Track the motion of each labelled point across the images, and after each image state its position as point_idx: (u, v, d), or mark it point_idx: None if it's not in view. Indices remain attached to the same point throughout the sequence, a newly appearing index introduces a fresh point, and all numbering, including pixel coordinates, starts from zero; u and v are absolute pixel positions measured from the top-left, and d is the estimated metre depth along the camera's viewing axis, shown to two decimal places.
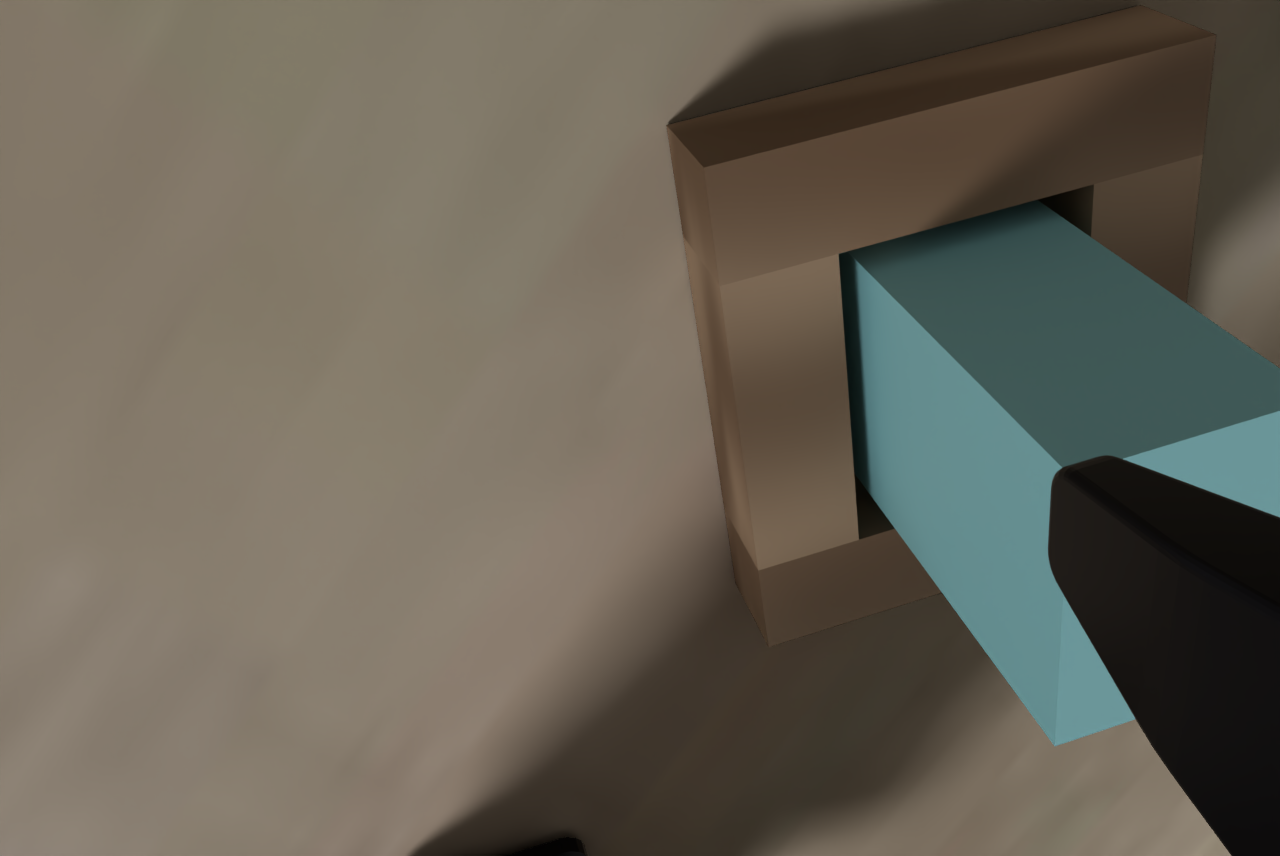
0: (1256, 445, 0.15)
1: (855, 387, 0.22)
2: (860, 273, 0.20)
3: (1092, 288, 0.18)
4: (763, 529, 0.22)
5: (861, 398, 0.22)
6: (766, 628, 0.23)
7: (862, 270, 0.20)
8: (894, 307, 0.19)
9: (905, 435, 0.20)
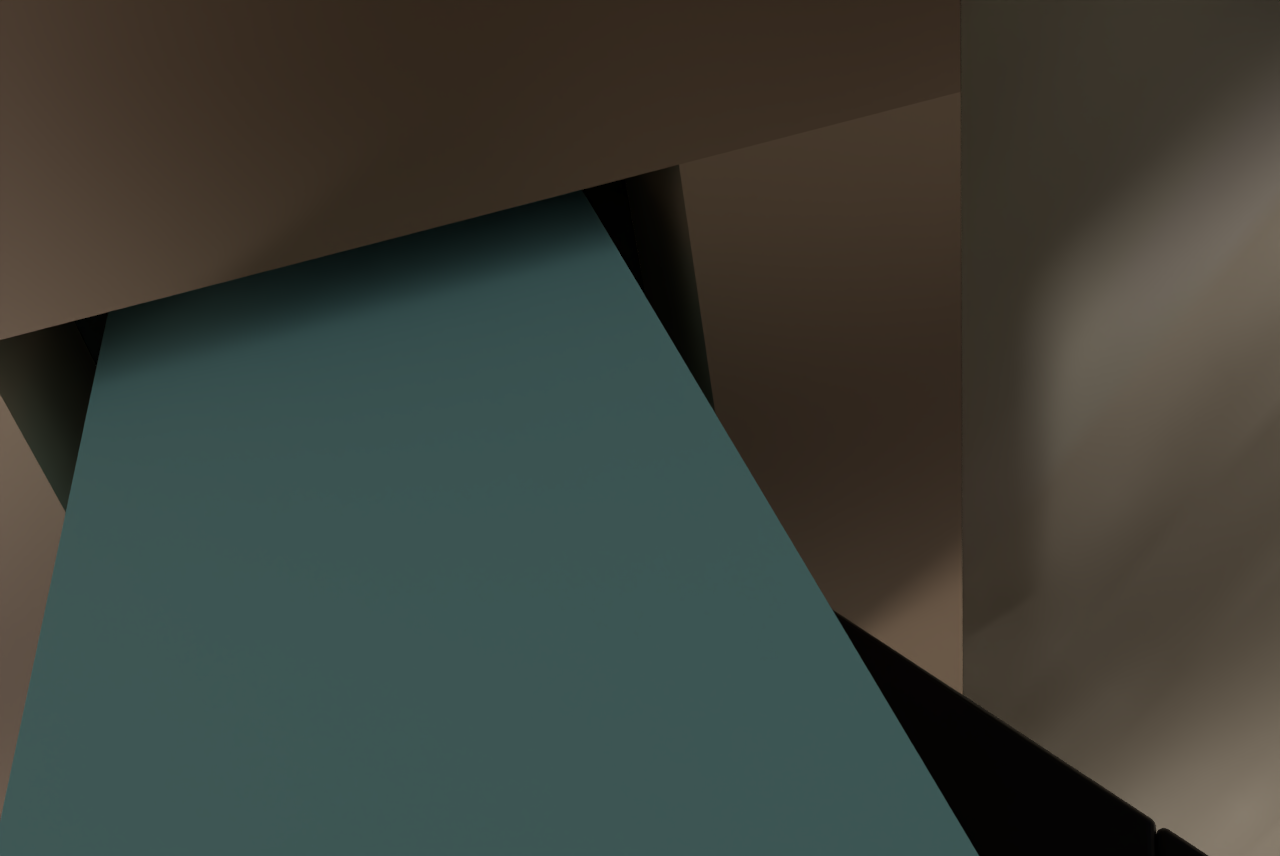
0: None
1: None
2: (106, 387, 0.08)
3: (564, 470, 0.06)
4: None
5: None
6: None
7: (99, 380, 0.08)
8: (82, 497, 0.07)
9: None
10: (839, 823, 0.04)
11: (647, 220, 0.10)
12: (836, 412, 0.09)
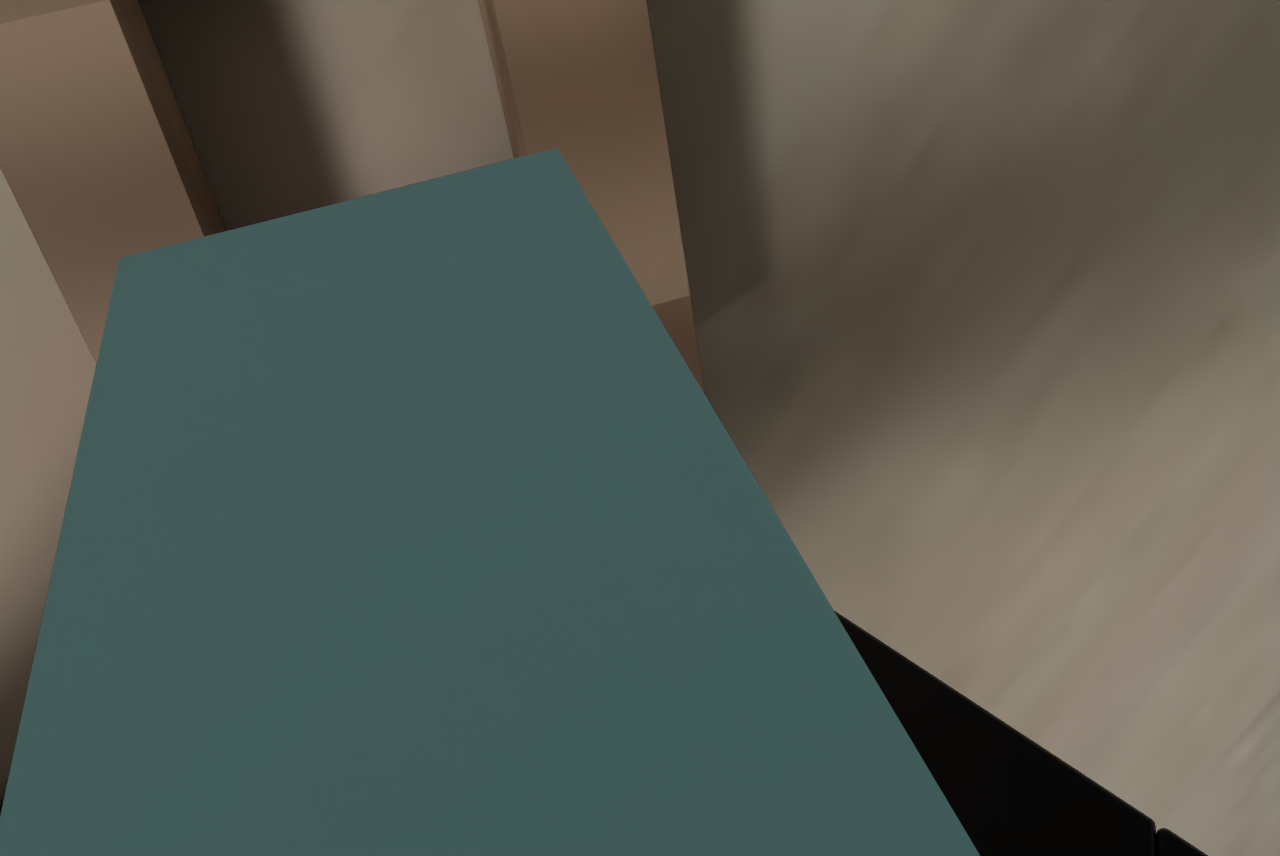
0: None
1: None
2: (106, 385, 0.08)
3: (562, 468, 0.06)
4: None
5: None
6: None
7: (101, 379, 0.08)
8: (82, 495, 0.07)
9: None
10: (839, 820, 0.04)
11: None
12: (582, 79, 0.17)
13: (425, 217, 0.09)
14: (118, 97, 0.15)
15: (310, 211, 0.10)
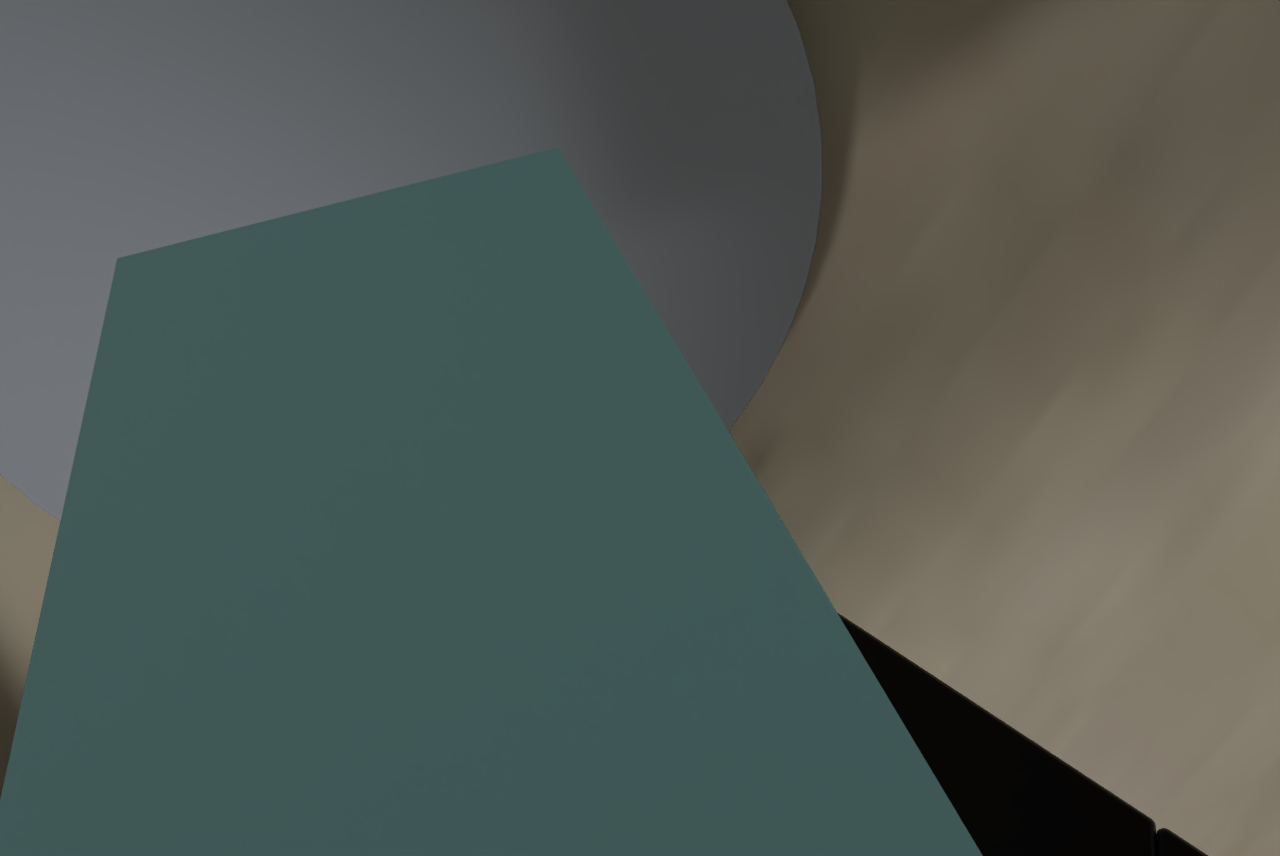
0: None
1: None
2: (103, 388, 0.08)
3: (563, 471, 0.06)
4: None
5: None
6: None
7: (96, 380, 0.08)
8: (82, 497, 0.07)
9: None
10: (845, 829, 0.04)
11: None
12: None
13: (424, 217, 0.09)
14: None
15: (309, 211, 0.09)
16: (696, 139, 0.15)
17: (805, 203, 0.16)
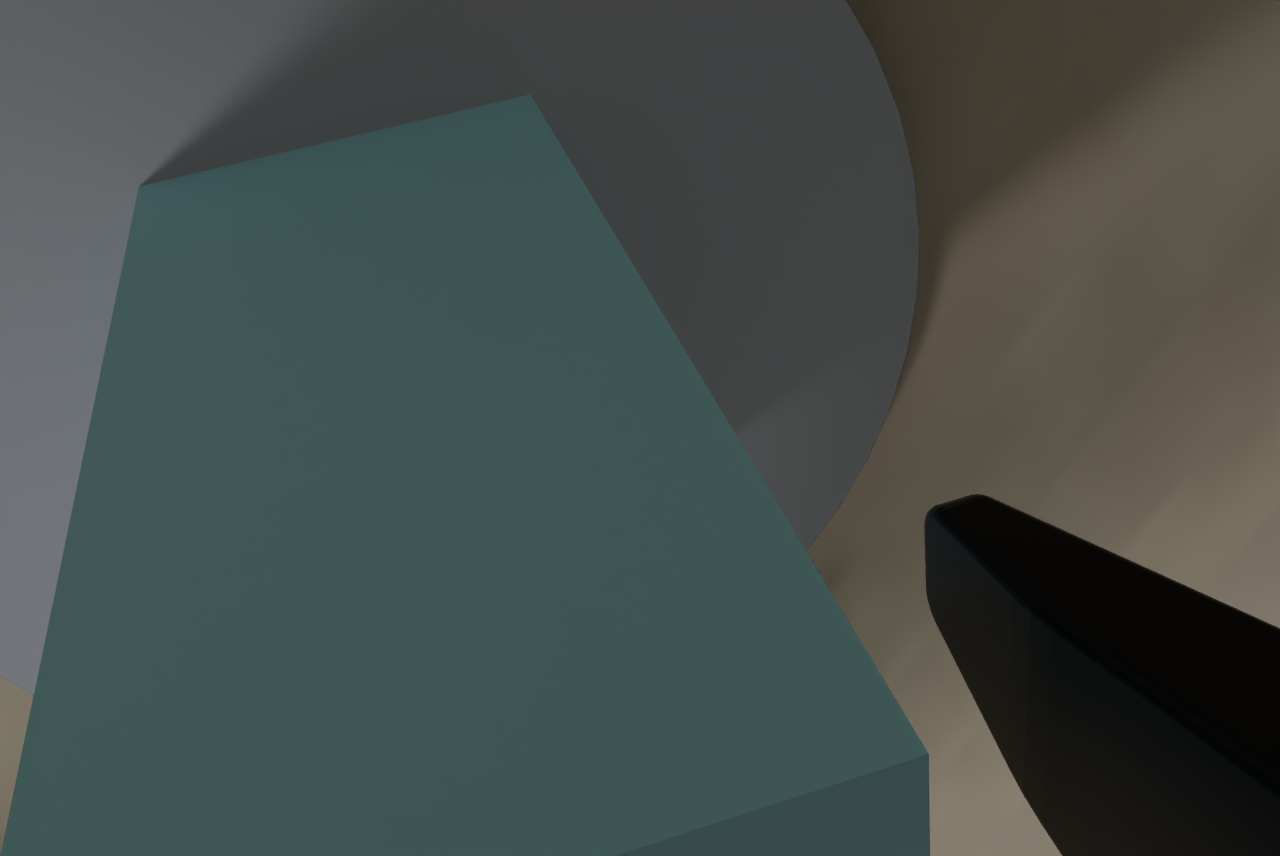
0: None
1: None
2: None
3: (520, 338, 0.07)
4: None
5: None
6: None
7: (124, 281, 0.09)
8: (112, 370, 0.08)
9: None
10: (722, 569, 0.06)
11: None
12: None
13: (409, 150, 0.10)
14: None
15: (309, 147, 0.11)
16: (774, 241, 0.12)
17: (896, 309, 0.13)
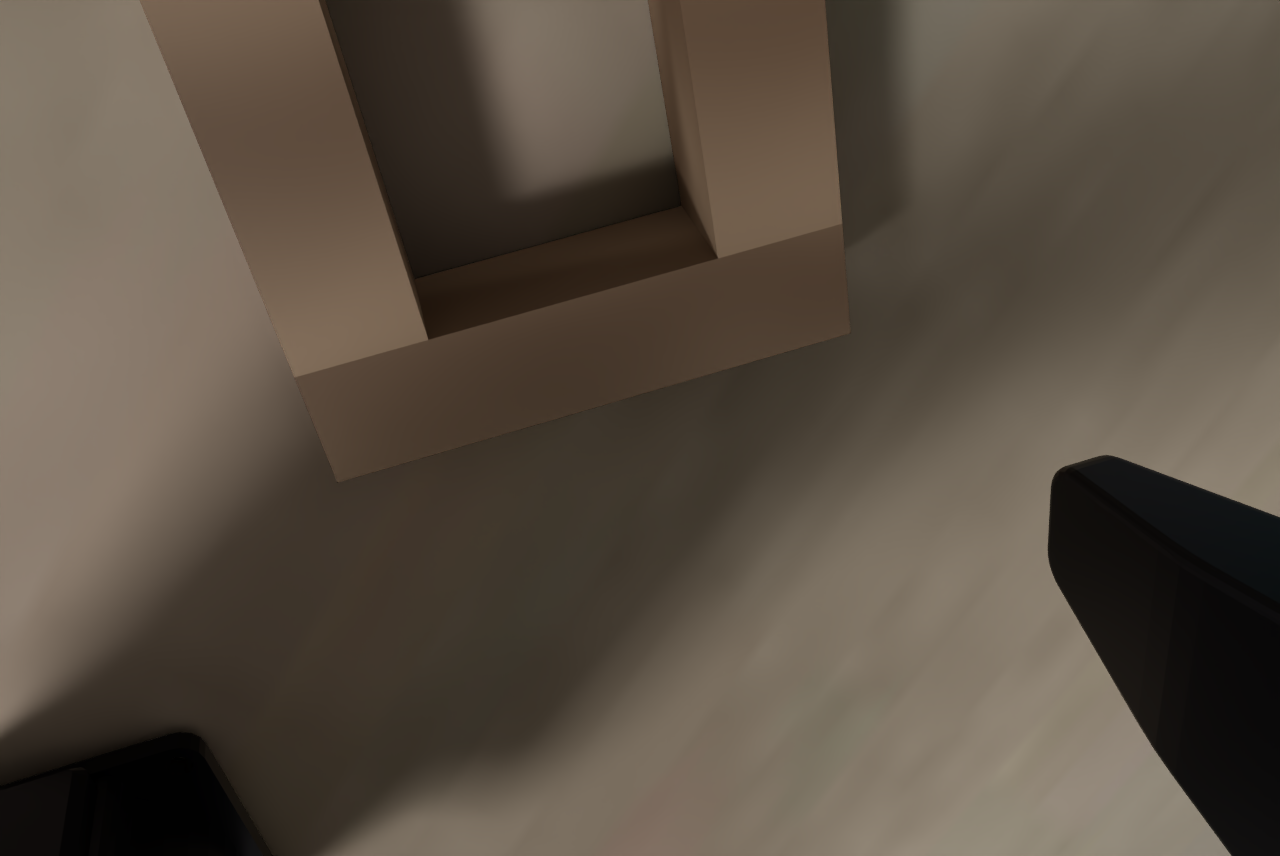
0: None
1: None
2: None
3: None
4: (286, 320, 0.17)
5: None
6: (328, 457, 0.19)
7: None
8: None
9: None
10: None
11: None
12: None
13: None
14: (295, 17, 0.15)
15: None
16: None
17: None
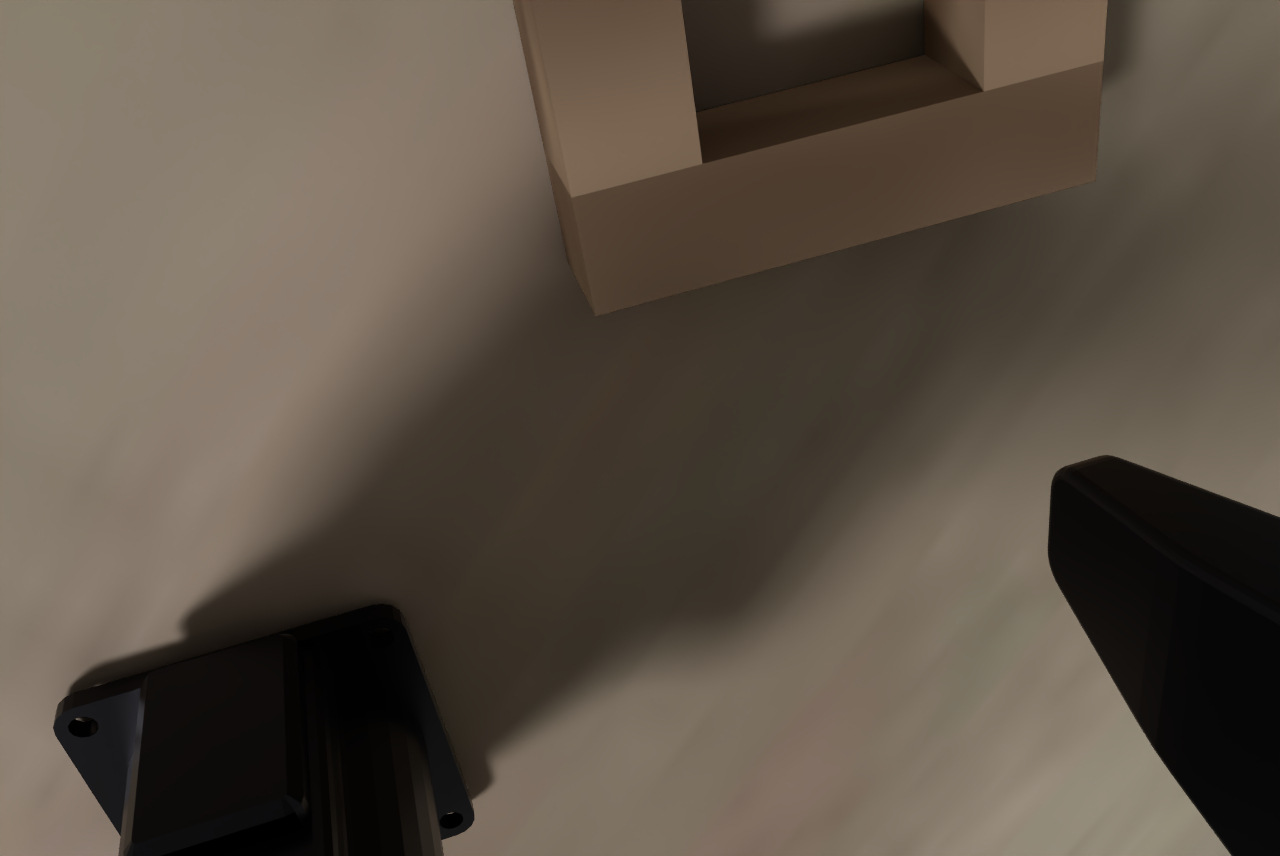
0: None
1: None
2: None
3: None
4: (573, 134, 0.17)
5: None
6: (590, 288, 0.18)
7: None
8: None
9: None
10: None
11: None
12: None
13: None
14: None
15: None
16: None
17: None
